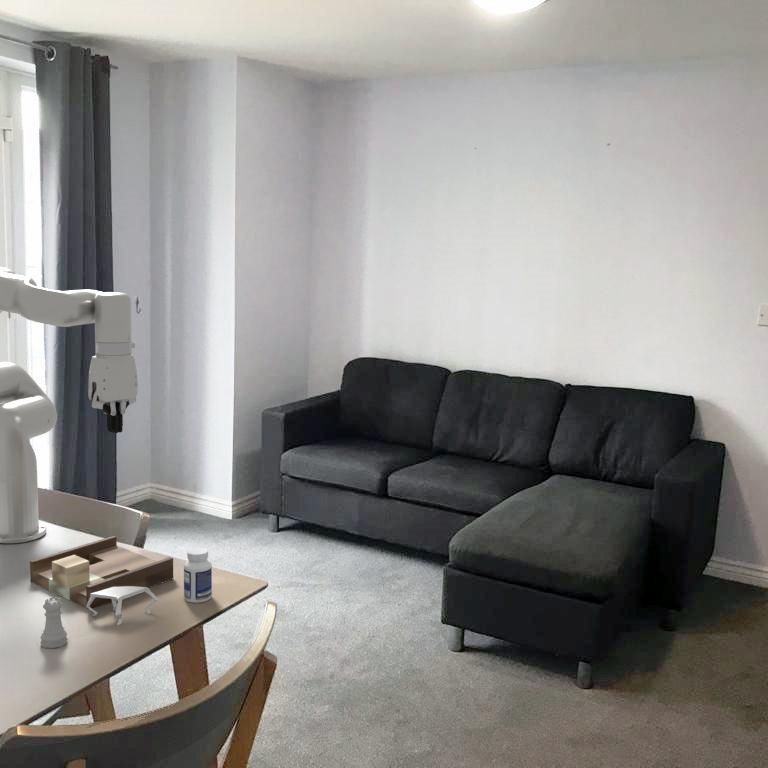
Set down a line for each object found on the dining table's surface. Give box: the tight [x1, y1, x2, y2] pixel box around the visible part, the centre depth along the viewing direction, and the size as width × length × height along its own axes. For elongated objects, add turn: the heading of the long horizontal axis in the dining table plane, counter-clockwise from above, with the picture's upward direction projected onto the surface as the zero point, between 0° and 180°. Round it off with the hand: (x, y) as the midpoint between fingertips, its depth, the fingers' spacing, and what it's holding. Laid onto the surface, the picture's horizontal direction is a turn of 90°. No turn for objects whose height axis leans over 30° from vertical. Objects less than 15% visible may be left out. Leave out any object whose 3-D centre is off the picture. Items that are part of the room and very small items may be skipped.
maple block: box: [52, 555, 90, 588], centre depth 170 cm, size 5×5×4 cm
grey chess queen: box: [40, 596, 69, 649], centre depth 149 cm, size 4×4×8 cm
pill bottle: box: [183, 547, 213, 604], centre depth 169 cm, size 5×5×10 cm
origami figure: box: [86, 586, 159, 626], centre depth 161 cm, size 12×8×5 cm
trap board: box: [29, 535, 174, 611], centre depth 177 cm, size 20×20×4 cm
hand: (115, 431), depth 190 cm, fingers closed
